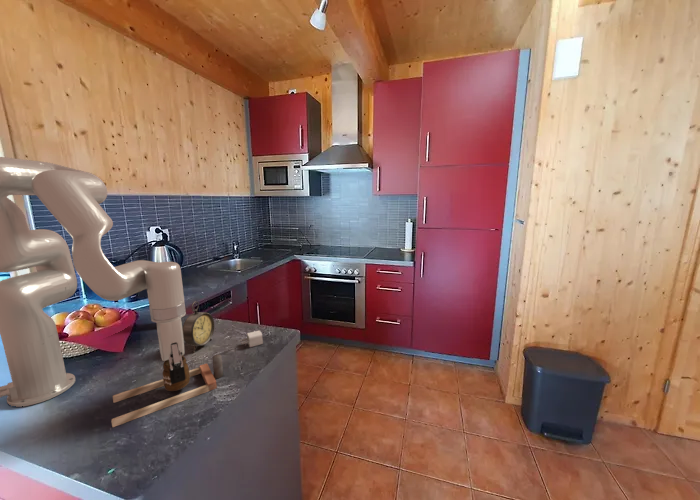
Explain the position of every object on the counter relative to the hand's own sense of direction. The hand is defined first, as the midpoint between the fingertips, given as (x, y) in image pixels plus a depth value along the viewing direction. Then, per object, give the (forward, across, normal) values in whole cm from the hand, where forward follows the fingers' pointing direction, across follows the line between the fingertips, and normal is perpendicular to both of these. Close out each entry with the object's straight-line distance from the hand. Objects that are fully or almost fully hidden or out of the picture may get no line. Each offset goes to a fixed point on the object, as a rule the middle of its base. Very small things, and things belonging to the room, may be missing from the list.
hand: (176, 374), depth 77 cm
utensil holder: (+3, 0, 0) cm, 3 cm away
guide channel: (+5, 0, -1) cm, 5 cm away
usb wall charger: (+5, -12, +24) cm, 27 cm away
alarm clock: (+5, -22, +9) cm, 24 cm away
